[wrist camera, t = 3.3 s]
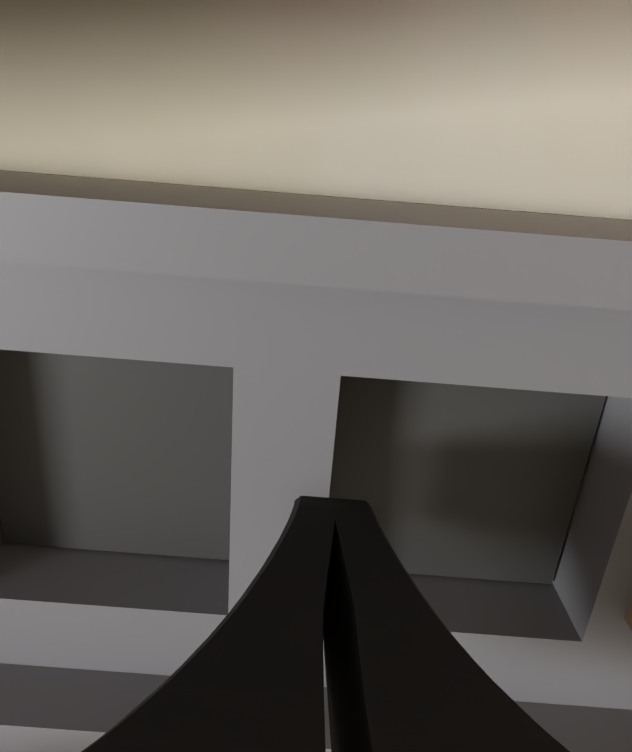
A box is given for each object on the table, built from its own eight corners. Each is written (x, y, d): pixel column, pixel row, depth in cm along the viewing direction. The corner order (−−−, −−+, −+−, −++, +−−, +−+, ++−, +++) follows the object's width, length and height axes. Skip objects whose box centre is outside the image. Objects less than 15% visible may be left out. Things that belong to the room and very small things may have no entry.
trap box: (1060, 704, 16) (1245, 846, 13) (-88, 619, 16) (-195, 741, 13) (1396, 280, 12) (1811, 334, 8) (-203, 154, 11) (-417, 158, 8)
